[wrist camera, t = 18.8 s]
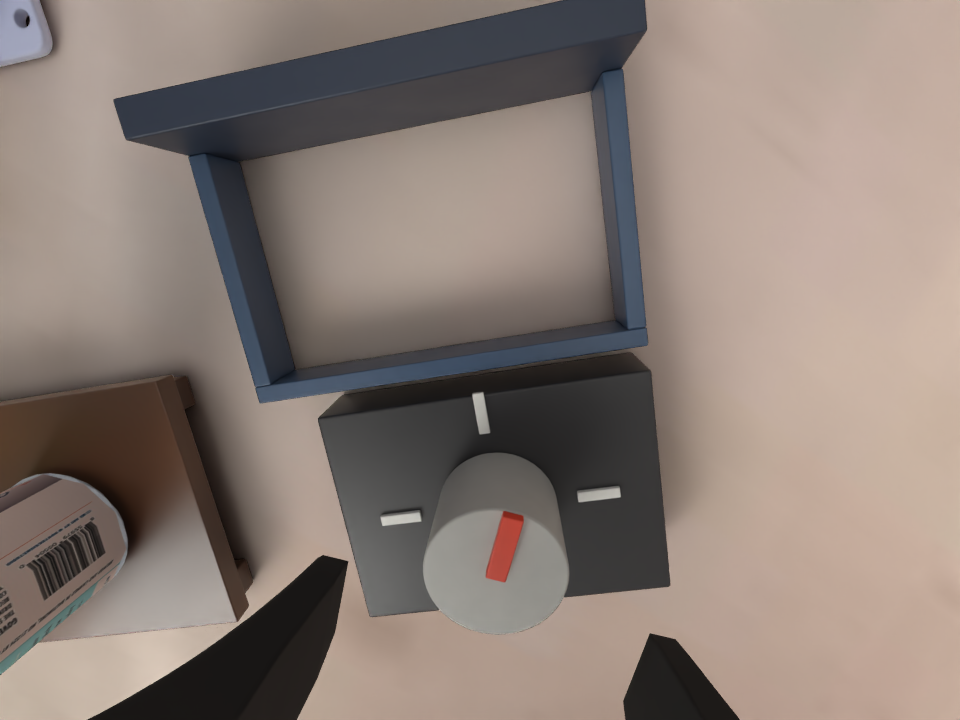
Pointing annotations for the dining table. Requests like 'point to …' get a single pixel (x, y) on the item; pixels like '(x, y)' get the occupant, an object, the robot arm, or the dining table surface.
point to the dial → (496, 546)
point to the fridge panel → (513, 430)
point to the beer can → (52, 556)
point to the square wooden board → (134, 501)
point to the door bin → (393, 106)
